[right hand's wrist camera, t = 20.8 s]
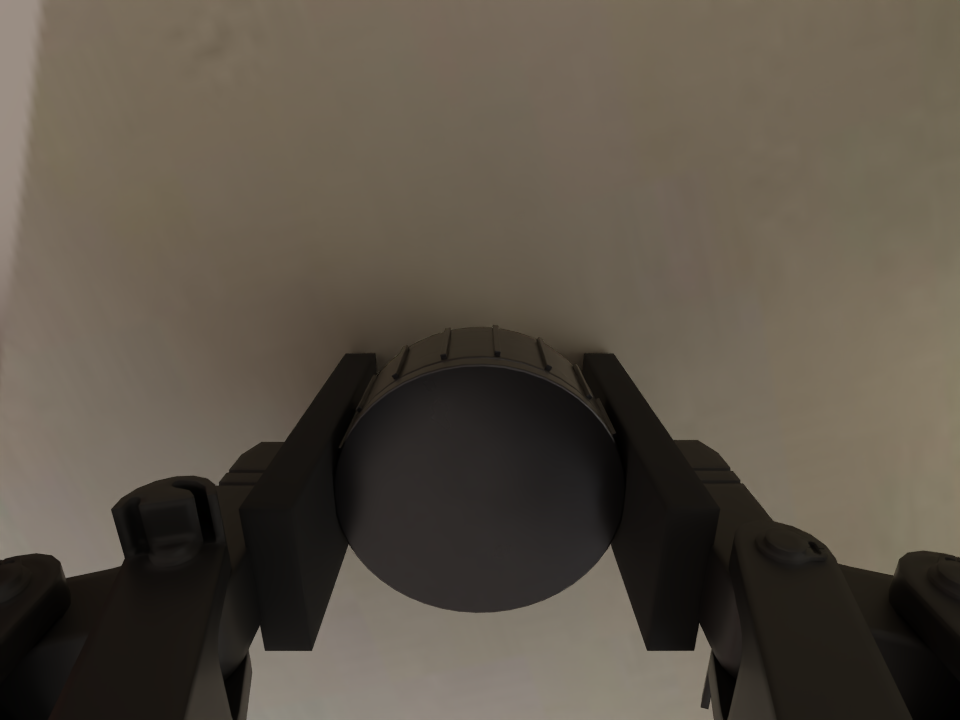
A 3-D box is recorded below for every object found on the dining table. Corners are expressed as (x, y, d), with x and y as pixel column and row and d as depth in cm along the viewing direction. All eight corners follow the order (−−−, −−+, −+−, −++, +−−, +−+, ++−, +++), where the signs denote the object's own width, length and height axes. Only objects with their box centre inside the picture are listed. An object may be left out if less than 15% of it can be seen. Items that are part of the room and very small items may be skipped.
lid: (655, 446, 12) (690, 504, 10) (474, 582, 13) (473, 658, 11) (486, 267, 11) (487, 293, 9) (303, 439, 12) (266, 496, 10)
